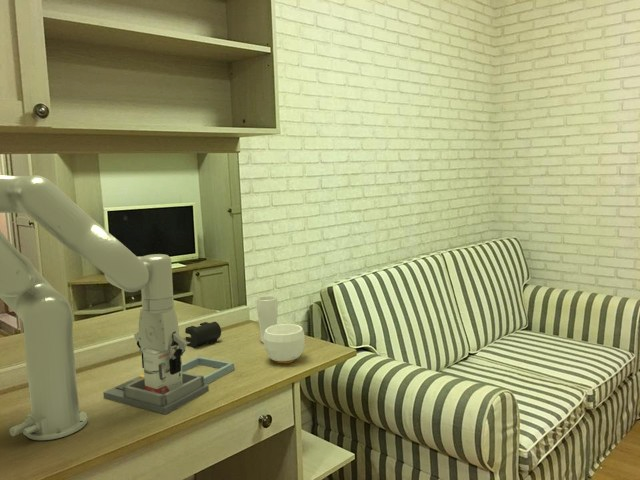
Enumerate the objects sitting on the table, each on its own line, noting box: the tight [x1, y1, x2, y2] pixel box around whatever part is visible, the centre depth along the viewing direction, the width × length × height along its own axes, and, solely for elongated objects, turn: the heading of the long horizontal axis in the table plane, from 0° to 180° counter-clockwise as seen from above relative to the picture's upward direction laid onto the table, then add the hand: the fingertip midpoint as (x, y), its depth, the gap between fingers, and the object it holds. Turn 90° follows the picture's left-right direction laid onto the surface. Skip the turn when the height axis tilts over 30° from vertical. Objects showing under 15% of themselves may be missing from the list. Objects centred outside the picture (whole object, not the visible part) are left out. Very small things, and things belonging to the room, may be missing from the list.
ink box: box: [143, 346, 183, 394], centre depth 131 cm, size 9×5×12 cm, turn 148°
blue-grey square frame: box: [182, 356, 235, 385], centre depth 146 cm, size 14×14×2 cm
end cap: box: [184, 321, 222, 349], centre depth 173 cm, size 10×7×7 cm
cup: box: [263, 323, 306, 364], centre depth 155 cm, size 12×12×10 cm
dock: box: [102, 371, 210, 415], centre depth 133 cm, size 15×22×4 cm
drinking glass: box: [256, 295, 278, 344], centre depth 173 cm, size 7×7×15 cm
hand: (161, 369), depth 131 cm, fingers open, 9 cm apart
